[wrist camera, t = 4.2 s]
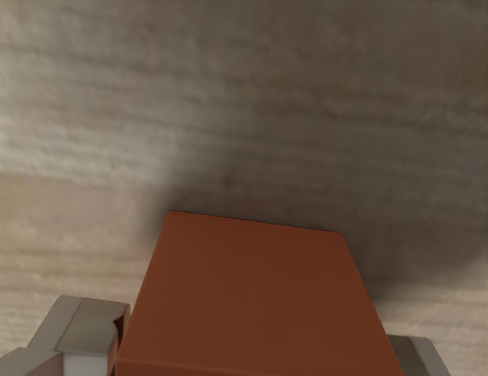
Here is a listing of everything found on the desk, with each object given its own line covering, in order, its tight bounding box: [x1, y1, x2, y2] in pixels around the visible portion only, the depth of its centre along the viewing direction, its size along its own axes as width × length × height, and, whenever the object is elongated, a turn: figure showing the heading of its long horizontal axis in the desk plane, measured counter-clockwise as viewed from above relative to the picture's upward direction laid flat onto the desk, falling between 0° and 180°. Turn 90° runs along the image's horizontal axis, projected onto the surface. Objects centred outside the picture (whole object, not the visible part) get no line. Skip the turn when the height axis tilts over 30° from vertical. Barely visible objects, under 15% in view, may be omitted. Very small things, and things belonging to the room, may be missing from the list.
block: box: [115, 210, 405, 376], centre depth 9 cm, size 4×4×5 cm
